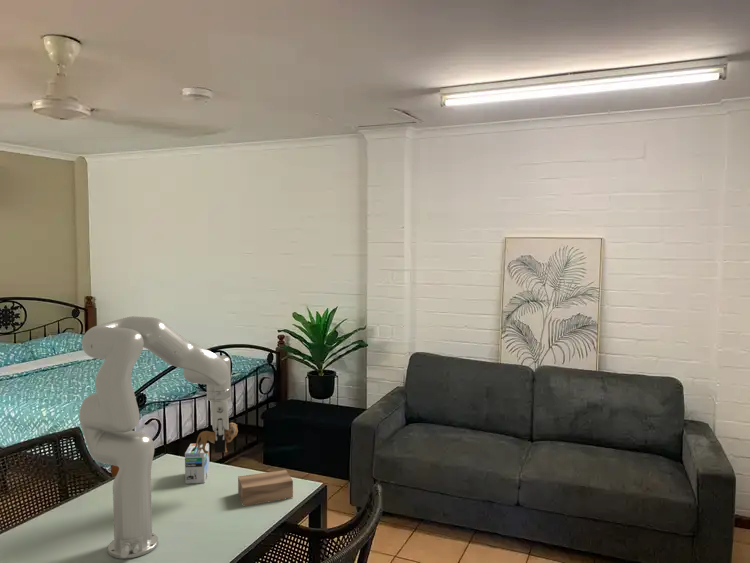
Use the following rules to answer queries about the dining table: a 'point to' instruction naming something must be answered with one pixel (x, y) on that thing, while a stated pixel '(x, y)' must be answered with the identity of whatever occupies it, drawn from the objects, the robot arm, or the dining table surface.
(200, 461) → the light bulb box
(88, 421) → the robot arm
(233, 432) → the lion figurine
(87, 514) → the dining table surface
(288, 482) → the walnut block
